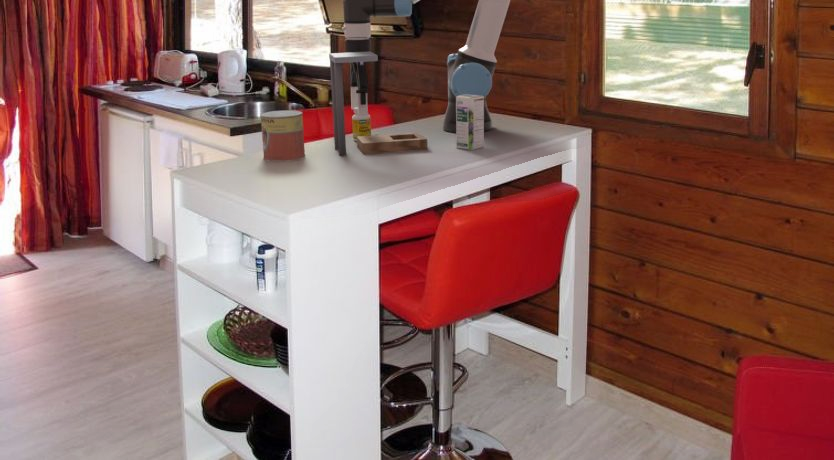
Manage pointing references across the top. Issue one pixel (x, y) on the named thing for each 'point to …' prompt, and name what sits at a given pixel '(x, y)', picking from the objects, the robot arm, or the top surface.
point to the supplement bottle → (360, 125)
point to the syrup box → (469, 122)
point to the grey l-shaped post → (337, 92)
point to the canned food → (282, 135)
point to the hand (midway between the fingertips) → (359, 112)
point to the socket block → (391, 143)
